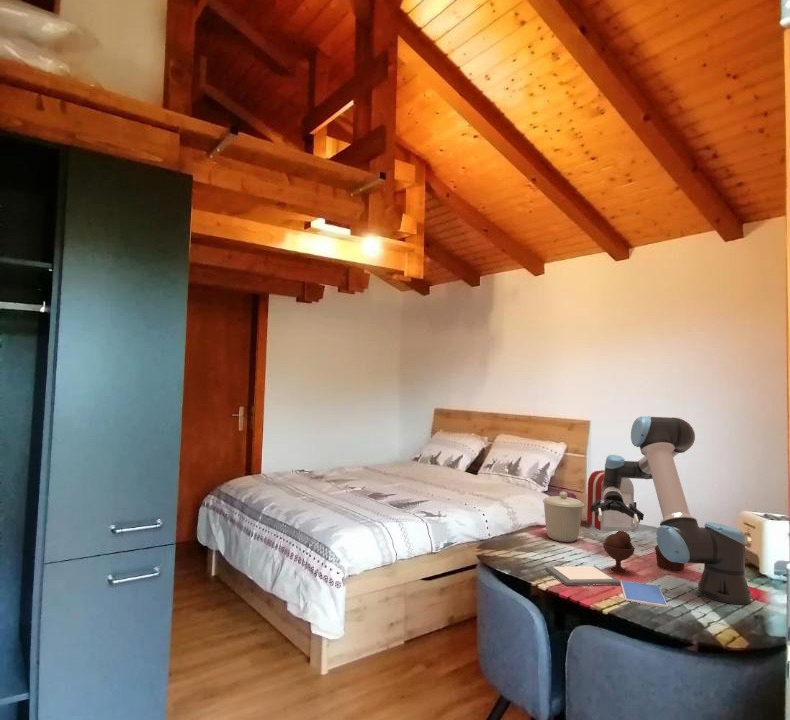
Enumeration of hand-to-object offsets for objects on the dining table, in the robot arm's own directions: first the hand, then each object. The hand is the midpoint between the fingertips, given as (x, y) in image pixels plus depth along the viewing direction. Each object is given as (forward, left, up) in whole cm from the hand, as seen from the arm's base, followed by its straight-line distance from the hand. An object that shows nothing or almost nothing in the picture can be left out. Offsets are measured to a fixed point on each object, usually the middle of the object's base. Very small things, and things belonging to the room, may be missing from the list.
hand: (618, 521), depth 212 cm
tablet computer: (-31, +10, -17) cm, 36 cm away
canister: (+33, +6, -16) cm, 38 cm away
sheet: (-15, +23, -15) cm, 31 cm away
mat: (-15, +23, -16) cm, 32 cm away
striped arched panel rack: (+54, -30, -17) cm, 64 cm away
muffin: (-6, -19, -17) cm, 26 cm away
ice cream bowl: (-9, +5, -16) cm, 19 cm away
